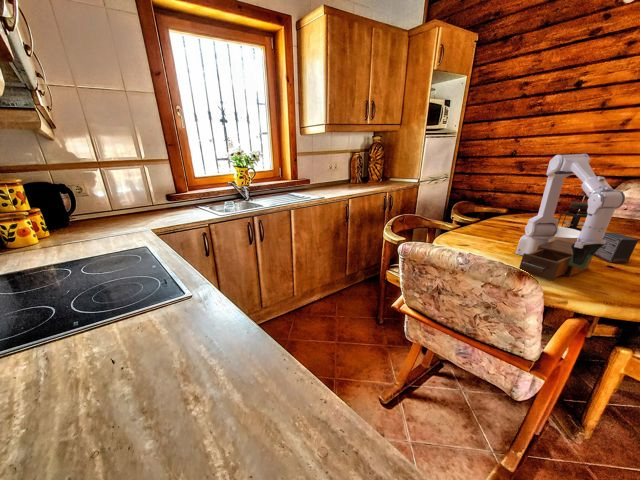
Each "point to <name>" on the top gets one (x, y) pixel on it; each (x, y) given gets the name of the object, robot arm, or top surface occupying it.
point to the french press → (575, 214)
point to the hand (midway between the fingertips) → (580, 262)
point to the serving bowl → (566, 235)
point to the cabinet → (562, 248)
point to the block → (584, 264)
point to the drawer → (545, 263)
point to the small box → (616, 248)
